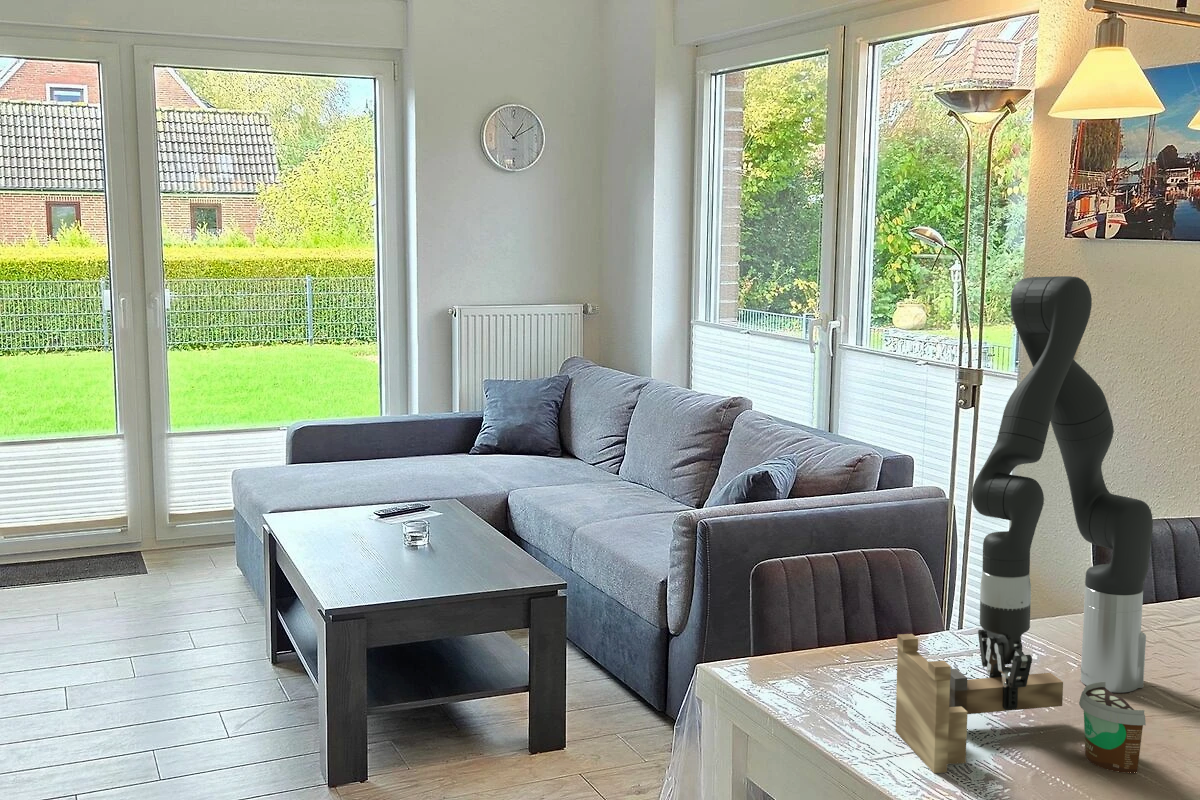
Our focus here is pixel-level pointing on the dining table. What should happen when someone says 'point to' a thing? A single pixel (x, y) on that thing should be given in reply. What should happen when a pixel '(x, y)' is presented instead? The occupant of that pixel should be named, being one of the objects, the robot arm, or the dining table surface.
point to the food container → (1111, 729)
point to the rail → (989, 693)
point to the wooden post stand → (928, 708)
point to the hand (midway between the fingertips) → (1002, 702)
